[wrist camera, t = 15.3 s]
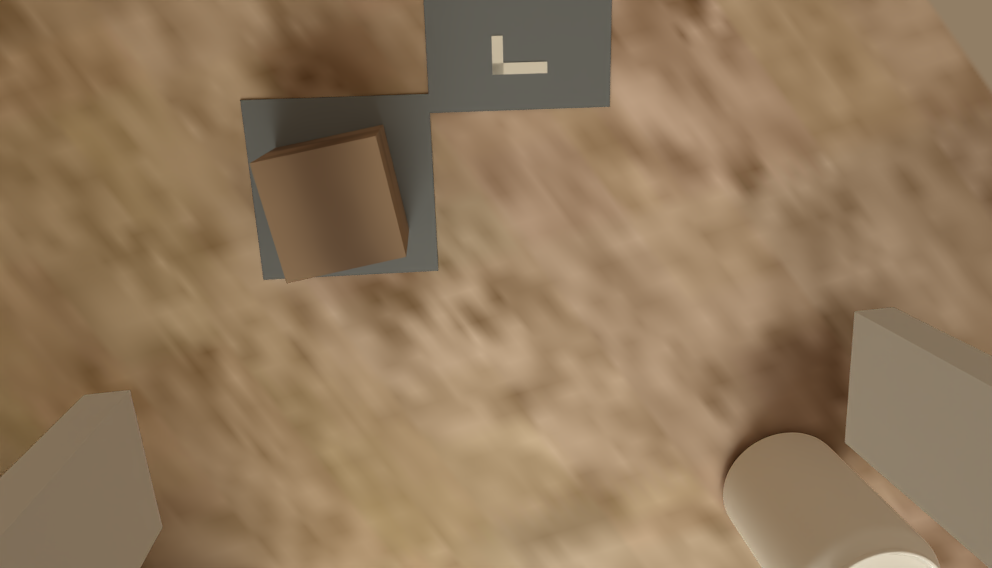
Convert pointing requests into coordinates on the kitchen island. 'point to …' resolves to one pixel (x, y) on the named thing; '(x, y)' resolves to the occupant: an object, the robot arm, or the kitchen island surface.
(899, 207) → the kitchen island surface
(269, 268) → the code tile
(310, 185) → the walnut block
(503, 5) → the code tile
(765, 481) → the beverage can
